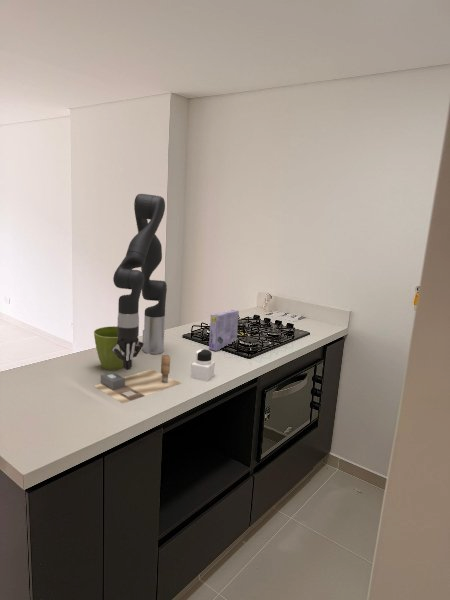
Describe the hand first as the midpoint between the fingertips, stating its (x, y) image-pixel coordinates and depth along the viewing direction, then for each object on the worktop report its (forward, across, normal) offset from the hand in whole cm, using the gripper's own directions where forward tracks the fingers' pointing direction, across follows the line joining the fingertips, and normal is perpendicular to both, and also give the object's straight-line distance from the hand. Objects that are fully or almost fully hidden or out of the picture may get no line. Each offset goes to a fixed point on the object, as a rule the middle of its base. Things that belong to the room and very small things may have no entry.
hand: (127, 368), depth 154 cm
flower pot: (+7, -4, -15) cm, 17 cm away
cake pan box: (+7, -63, -9) cm, 64 cm away
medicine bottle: (+6, -25, +14) cm, 30 cm away
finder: (+4, +6, 0) cm, 8 cm away
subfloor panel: (+6, -1, +6) cm, 8 cm away
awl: (+5, -10, +10) cm, 15 cm away
